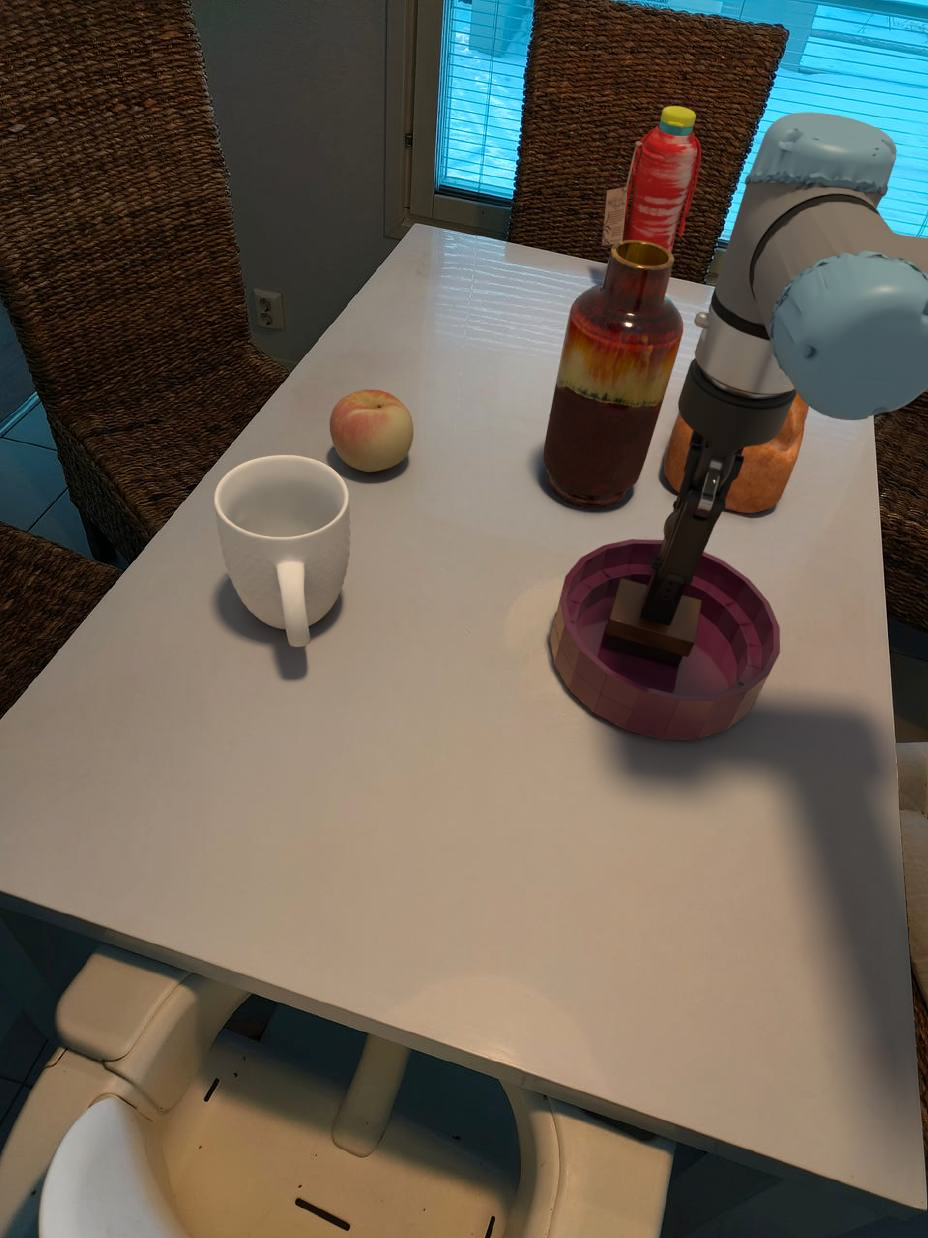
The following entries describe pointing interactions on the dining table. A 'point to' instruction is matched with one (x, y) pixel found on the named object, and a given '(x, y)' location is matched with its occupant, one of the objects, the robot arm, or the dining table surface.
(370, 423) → the yellow-red round fruit
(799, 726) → the dining table surface
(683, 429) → the bread
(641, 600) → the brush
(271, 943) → the dining table surface
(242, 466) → the mug
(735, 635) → the bowl
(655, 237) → the water bottle
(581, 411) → the vase
